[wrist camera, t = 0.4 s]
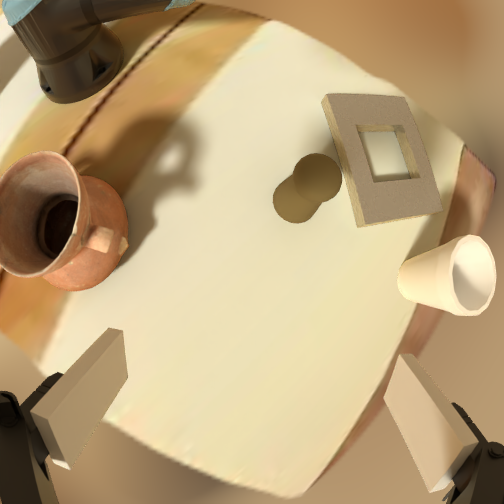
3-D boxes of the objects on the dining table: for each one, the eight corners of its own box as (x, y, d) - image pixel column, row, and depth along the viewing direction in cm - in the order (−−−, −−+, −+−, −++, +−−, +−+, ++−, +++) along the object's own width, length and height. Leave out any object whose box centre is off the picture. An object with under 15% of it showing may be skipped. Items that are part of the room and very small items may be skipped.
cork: (313, 178, 41) (345, 145, 30) (319, 222, 40) (355, 200, 29) (270, 180, 40) (289, 144, 29) (275, 224, 39) (297, 202, 29)
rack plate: (321, 102, 42) (326, 93, 40) (397, 104, 44) (404, 97, 42) (357, 228, 41) (365, 224, 38) (433, 214, 43) (443, 211, 40)
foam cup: (399, 321, 40) (459, 330, 27) (380, 262, 41) (438, 252, 28) (442, 294, 42) (502, 293, 29) (425, 239, 42) (484, 224, 29)
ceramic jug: (158, 202, 38) (129, 156, 24) (122, 310, 36) (73, 320, 22) (53, 170, 37) (1, 128, 23) (20, 264, 35) (-45, 252, 21)
